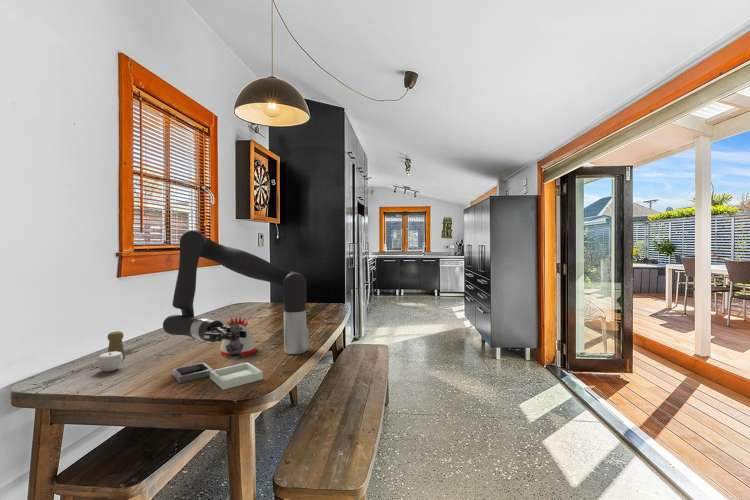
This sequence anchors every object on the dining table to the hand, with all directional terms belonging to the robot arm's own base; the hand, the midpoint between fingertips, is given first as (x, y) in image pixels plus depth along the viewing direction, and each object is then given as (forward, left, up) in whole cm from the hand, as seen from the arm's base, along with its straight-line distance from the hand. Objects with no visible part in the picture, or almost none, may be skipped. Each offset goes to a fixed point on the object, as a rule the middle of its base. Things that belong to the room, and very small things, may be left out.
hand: (240, 336), depth 119 cm
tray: (+1, -3, -15) cm, 15 cm away
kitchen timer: (-11, -33, -15) cm, 38 cm away
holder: (+11, -17, -15) cm, 25 cm away
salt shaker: (+1, -3, -7) cm, 8 cm away
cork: (+29, -57, -15) cm, 65 cm away
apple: (+32, -43, -15) cm, 55 cm away
